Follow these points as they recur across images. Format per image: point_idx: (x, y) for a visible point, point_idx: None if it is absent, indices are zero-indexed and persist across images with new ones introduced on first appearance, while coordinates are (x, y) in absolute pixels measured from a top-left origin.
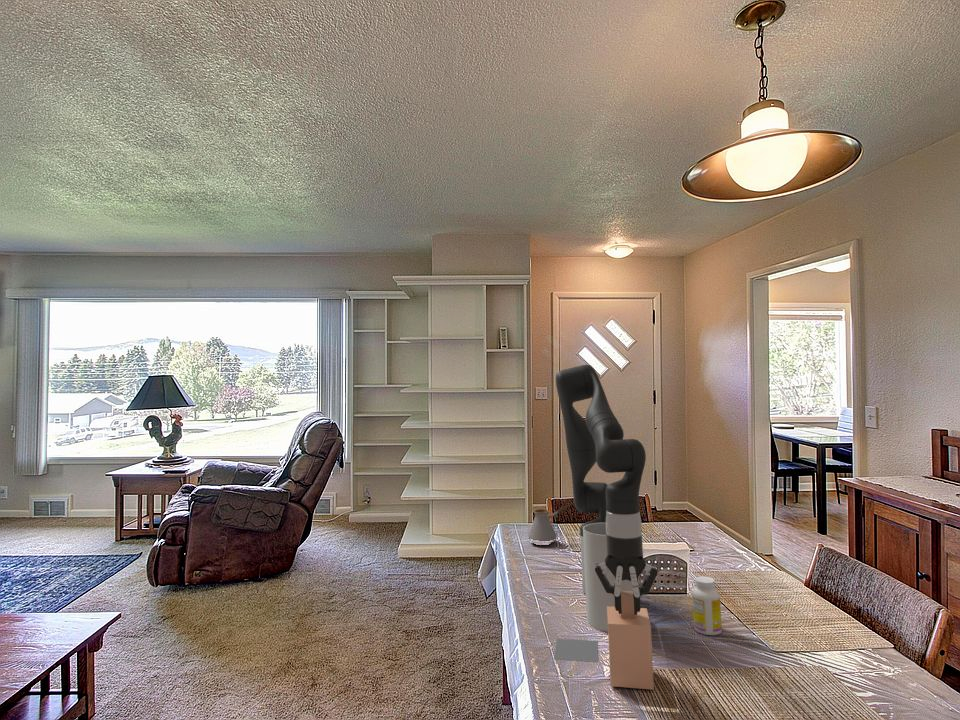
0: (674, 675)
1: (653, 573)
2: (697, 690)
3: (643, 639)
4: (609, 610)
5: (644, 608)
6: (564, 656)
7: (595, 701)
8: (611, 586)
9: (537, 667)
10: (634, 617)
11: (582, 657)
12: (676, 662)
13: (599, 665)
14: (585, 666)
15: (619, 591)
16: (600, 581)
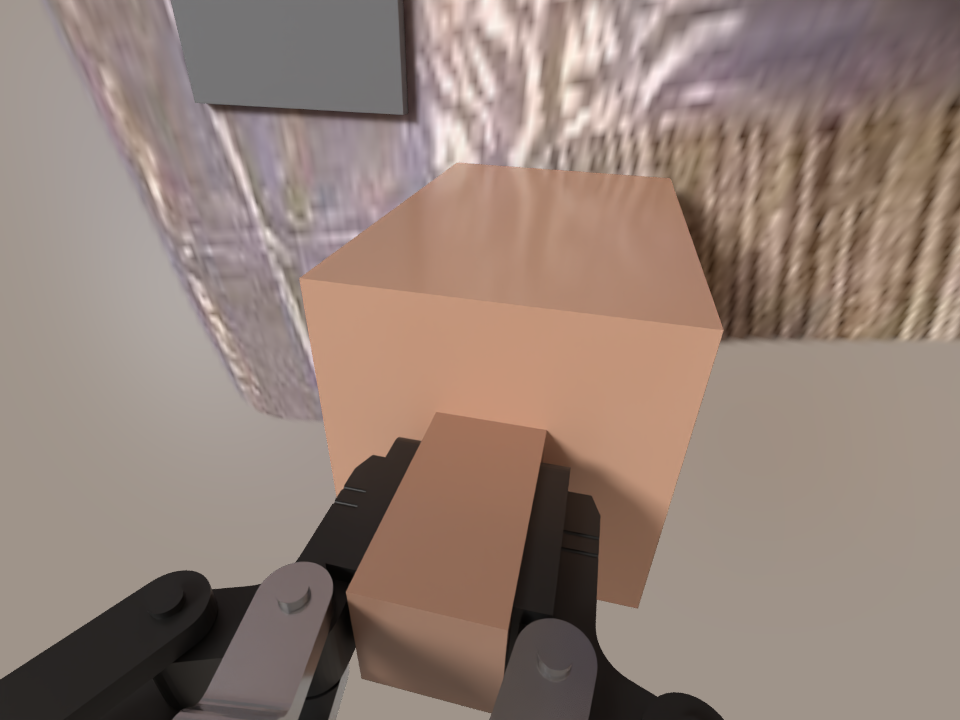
0: (802, 190)
1: None
2: (856, 318)
3: None
4: (333, 366)
5: (695, 333)
6: (232, 67)
7: None
8: (208, 684)
9: (157, 162)
10: None
11: (320, 67)
12: (901, 22)
13: (414, 116)
14: (349, 133)
15: (328, 710)
16: None
